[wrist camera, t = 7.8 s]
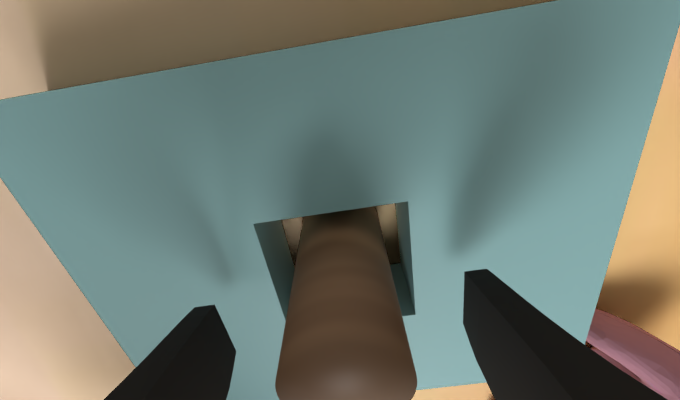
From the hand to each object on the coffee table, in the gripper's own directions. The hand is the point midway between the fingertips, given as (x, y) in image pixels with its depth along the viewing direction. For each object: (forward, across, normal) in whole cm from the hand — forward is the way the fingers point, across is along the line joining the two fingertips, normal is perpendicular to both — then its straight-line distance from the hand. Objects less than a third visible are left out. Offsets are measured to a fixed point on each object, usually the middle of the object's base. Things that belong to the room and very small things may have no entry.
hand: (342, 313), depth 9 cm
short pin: (+5, 0, 0) cm, 5 cm away
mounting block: (+5, 0, 0) cm, 5 cm away
